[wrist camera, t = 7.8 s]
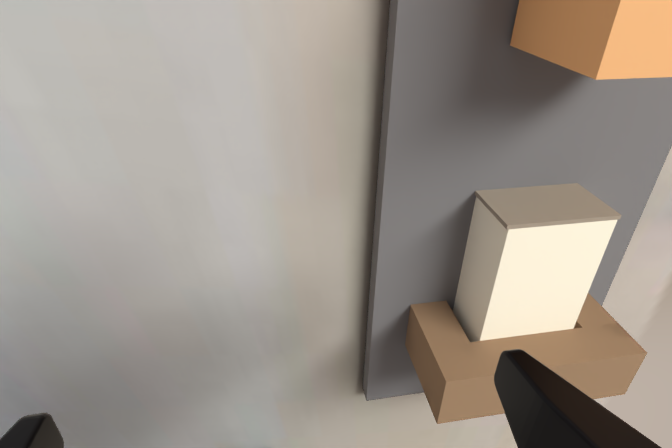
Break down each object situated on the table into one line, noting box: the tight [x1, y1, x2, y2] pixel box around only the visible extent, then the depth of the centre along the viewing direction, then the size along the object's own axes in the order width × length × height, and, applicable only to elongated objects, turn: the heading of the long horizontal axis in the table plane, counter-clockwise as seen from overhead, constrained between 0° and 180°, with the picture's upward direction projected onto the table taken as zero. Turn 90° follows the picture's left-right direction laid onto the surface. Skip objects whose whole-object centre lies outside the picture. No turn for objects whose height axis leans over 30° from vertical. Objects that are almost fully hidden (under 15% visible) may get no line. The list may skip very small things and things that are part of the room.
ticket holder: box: [363, 0, 672, 424], centre depth 19 cm, size 30×14×6 cm, turn 179°
